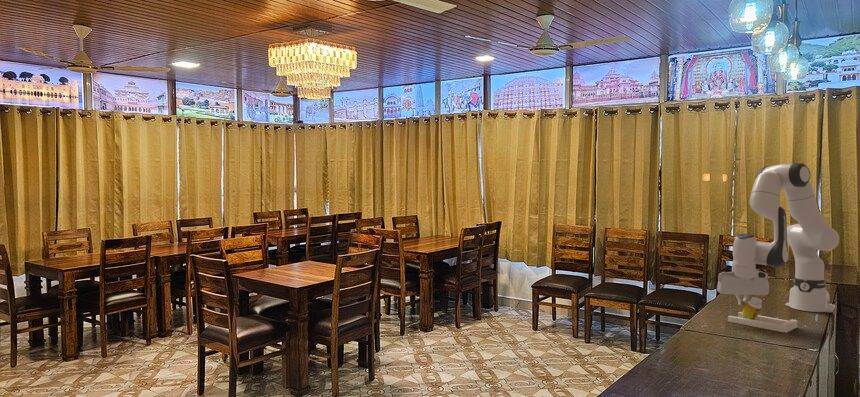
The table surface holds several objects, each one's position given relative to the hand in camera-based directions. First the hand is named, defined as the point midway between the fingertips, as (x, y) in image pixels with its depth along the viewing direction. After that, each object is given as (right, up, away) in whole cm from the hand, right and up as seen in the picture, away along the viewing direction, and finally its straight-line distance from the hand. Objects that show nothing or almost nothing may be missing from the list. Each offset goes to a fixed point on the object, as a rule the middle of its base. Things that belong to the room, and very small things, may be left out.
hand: (742, 304), depth 238 cm
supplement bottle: (+2, -6, -1) cm, 6 cm away
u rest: (+5, -7, -4) cm, 10 cm away
